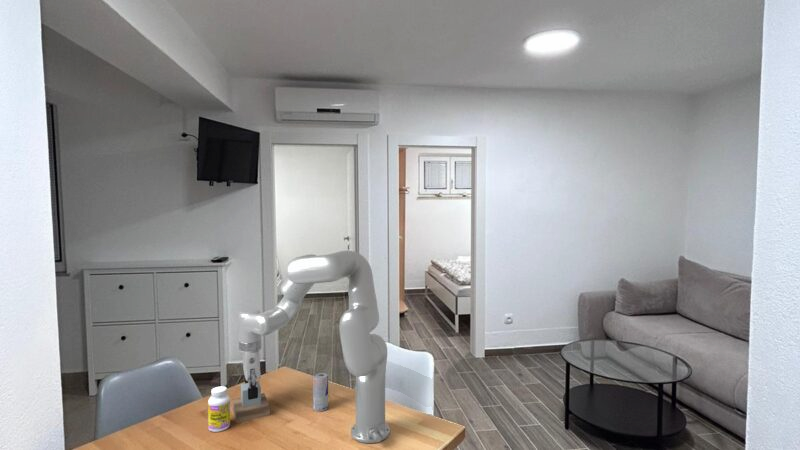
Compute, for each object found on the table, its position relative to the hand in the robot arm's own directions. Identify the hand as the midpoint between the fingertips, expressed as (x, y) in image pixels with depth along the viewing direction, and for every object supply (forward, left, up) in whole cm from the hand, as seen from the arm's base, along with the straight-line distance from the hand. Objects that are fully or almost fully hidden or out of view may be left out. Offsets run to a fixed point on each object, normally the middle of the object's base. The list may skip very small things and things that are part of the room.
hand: (251, 393), depth 146 cm
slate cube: (0, 0, -3) cm, 3 cm away
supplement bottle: (-6, +11, -7) cm, 14 cm away
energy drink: (-8, -23, -7) cm, 25 cm away
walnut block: (0, 0, -7) cm, 7 cm away
